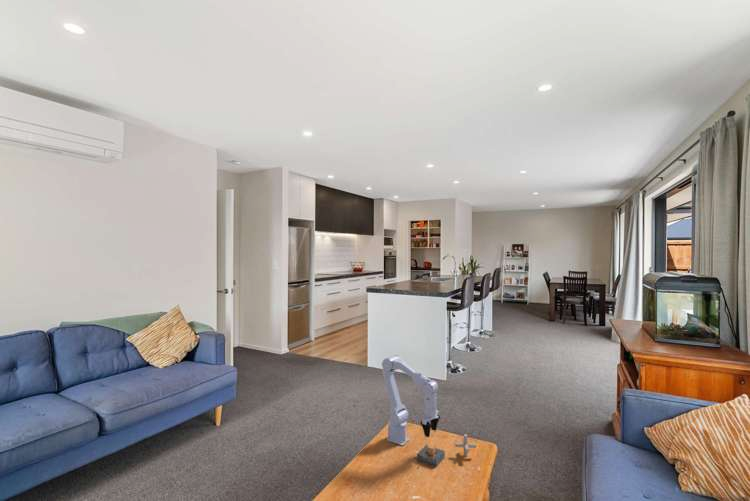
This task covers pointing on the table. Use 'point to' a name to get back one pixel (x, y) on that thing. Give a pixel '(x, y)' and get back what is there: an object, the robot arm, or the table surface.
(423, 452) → the grey square frame
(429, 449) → the tan wooden block
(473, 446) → the pipe connector
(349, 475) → the table surface
